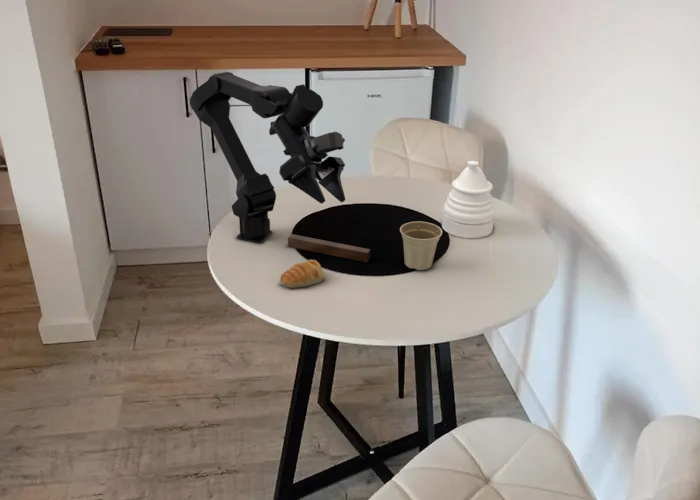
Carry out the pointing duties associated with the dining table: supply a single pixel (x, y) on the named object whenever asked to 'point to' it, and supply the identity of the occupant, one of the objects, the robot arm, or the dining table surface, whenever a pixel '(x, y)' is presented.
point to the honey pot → (469, 205)
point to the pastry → (303, 274)
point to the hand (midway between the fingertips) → (333, 201)
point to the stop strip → (329, 248)
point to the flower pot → (420, 243)
